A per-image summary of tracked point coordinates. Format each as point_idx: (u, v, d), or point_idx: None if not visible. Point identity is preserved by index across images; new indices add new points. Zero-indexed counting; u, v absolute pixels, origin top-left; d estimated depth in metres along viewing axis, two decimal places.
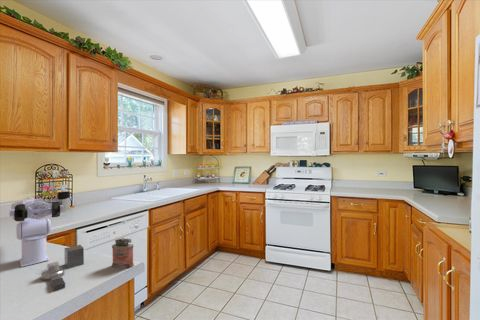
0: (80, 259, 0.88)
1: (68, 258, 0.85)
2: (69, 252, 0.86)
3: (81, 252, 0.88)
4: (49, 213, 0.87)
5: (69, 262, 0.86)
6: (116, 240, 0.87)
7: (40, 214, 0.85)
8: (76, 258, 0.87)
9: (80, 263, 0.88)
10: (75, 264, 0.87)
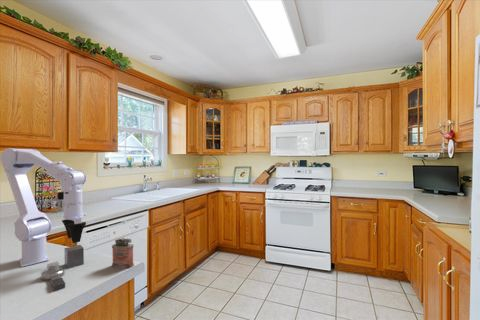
0: (80, 259, 0.88)
1: (68, 258, 0.85)
2: (69, 252, 0.86)
3: (81, 252, 0.88)
4: None
5: (69, 262, 0.86)
6: (116, 240, 0.87)
7: None
8: (76, 258, 0.87)
9: (80, 263, 0.88)
10: (75, 264, 0.87)
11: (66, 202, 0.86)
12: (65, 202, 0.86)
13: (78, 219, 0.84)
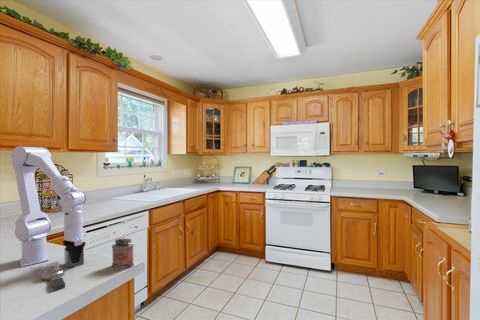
0: (80, 259, 0.88)
1: (68, 258, 0.85)
2: (69, 252, 0.86)
3: None
4: None
5: (69, 262, 0.86)
6: (116, 240, 0.87)
7: None
8: None
9: (80, 263, 0.88)
10: (75, 264, 0.87)
11: (66, 223, 0.86)
12: (65, 223, 0.86)
13: (78, 241, 0.84)
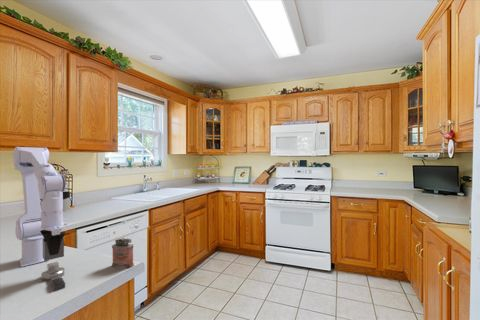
0: (60, 251, 0.79)
1: (46, 249, 0.76)
2: None
3: (61, 243, 0.79)
4: None
5: (47, 254, 0.77)
6: (116, 240, 0.87)
7: None
8: None
9: (60, 255, 0.79)
10: (54, 256, 0.78)
11: (41, 210, 0.77)
12: (41, 210, 0.78)
13: (56, 230, 0.75)
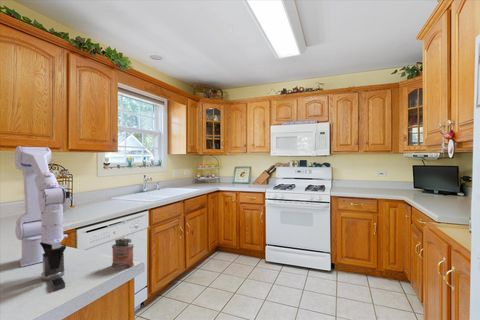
0: (60, 266, 0.79)
1: (45, 265, 0.76)
2: (47, 259, 0.77)
3: (61, 258, 0.79)
4: None
5: (47, 269, 0.77)
6: (116, 240, 0.87)
7: None
8: None
9: (60, 270, 0.79)
10: (54, 271, 0.78)
11: (41, 223, 0.77)
12: (41, 223, 0.78)
13: (56, 243, 0.75)
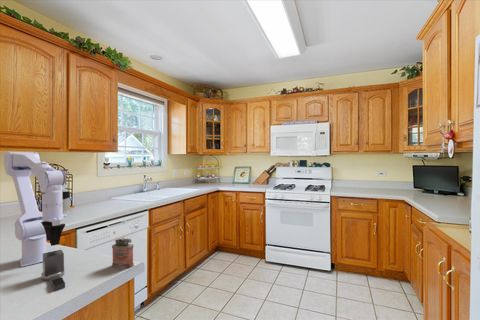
0: (60, 266, 0.79)
1: (46, 265, 0.76)
2: (47, 259, 0.77)
3: (61, 258, 0.79)
4: None
5: (47, 269, 0.77)
6: (116, 240, 0.87)
7: None
8: (55, 265, 0.78)
9: (60, 270, 0.79)
10: (54, 271, 0.78)
11: (43, 203, 0.83)
12: (42, 203, 0.83)
13: (56, 221, 0.80)
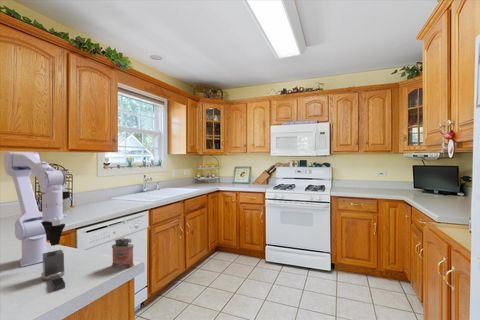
0: (60, 266, 0.79)
1: (46, 265, 0.76)
2: (47, 259, 0.77)
3: (61, 258, 0.79)
4: None
5: (47, 269, 0.77)
6: (116, 240, 0.87)
7: None
8: (55, 265, 0.78)
9: (60, 270, 0.79)
10: (54, 271, 0.78)
11: (43, 203, 0.83)
12: (42, 203, 0.83)
13: (56, 221, 0.80)
